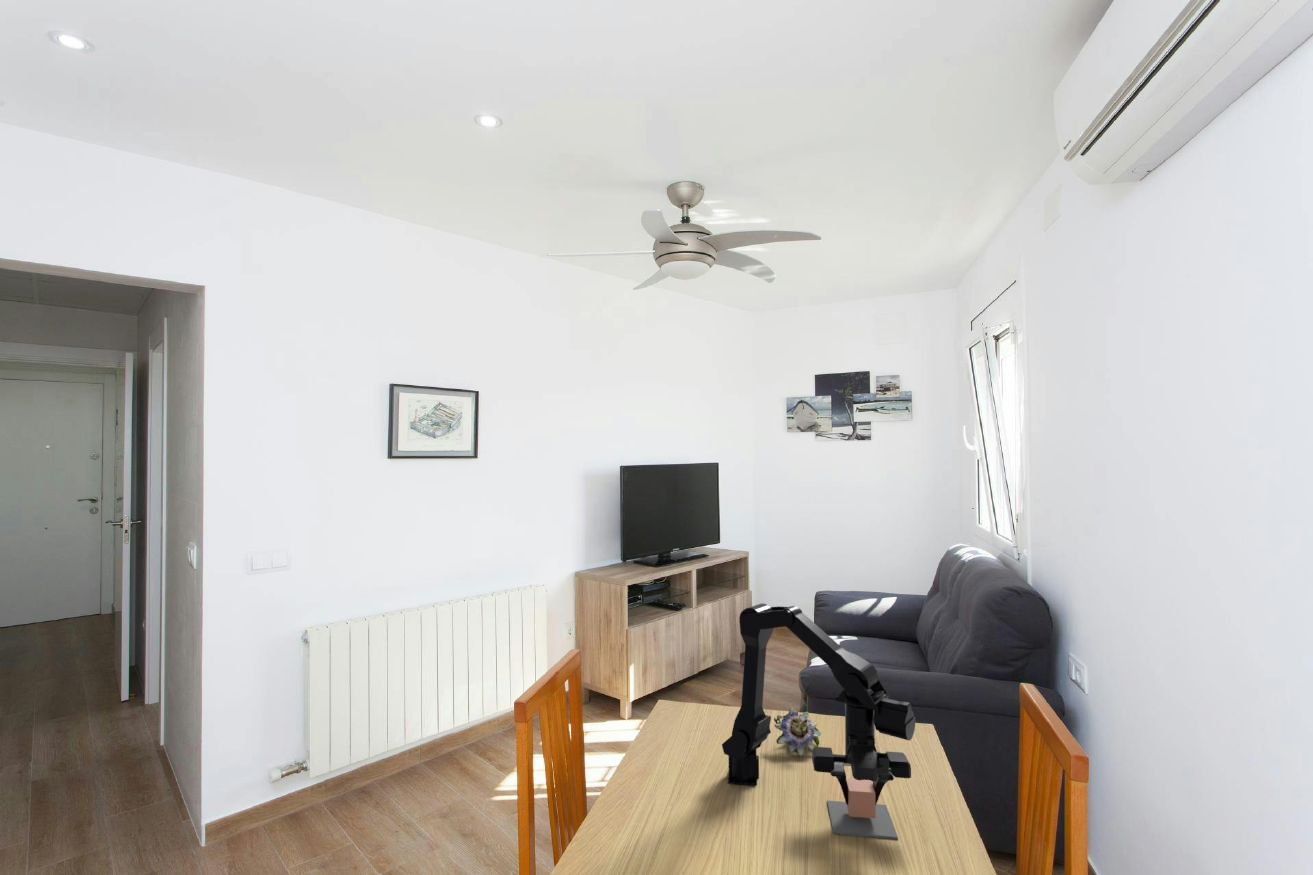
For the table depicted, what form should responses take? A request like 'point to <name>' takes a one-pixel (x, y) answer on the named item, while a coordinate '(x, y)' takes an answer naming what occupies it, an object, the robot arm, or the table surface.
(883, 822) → the mat
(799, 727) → the passion flower
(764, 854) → the table surface
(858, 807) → the cube
